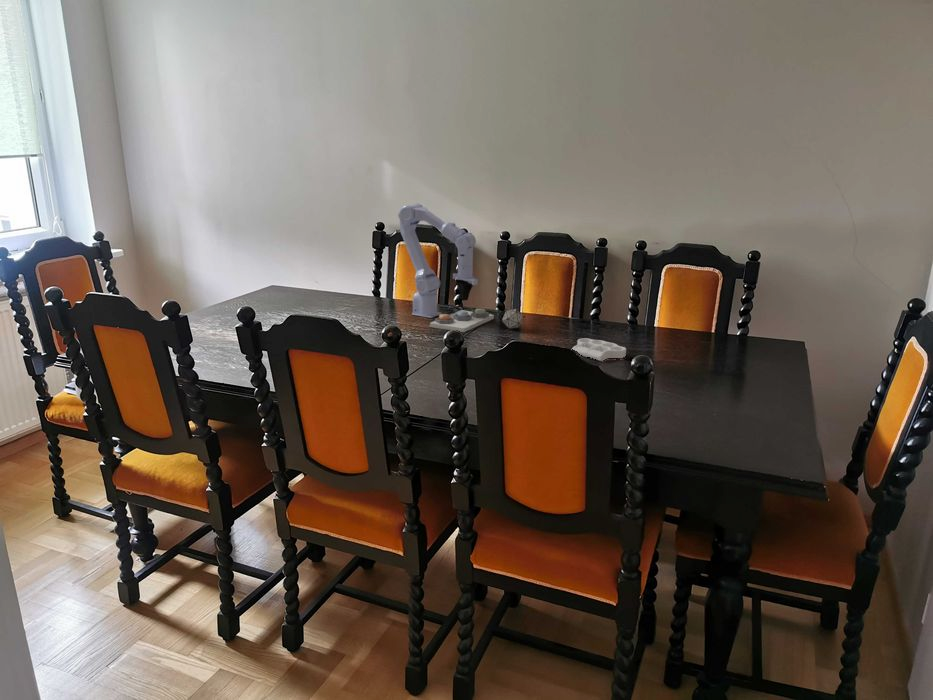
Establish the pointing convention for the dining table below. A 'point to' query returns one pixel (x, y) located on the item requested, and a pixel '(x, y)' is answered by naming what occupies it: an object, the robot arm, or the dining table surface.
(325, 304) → the dining table surface
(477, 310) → the button green
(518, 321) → the game die
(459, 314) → the button blue
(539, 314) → the dining table surface
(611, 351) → the grey hollowed tray
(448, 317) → the button terracotta
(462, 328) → the button panel
